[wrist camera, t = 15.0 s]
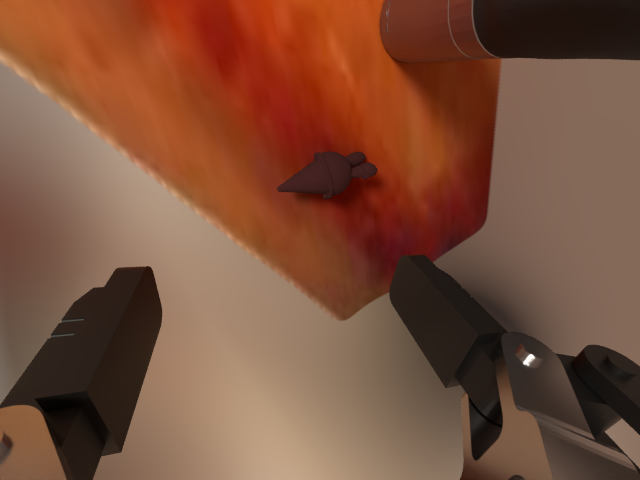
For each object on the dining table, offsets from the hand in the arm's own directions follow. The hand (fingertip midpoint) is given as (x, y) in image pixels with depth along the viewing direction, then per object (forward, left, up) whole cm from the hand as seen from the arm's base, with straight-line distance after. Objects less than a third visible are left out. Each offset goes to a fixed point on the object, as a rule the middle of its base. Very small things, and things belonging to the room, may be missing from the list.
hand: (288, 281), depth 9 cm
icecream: (-10, +6, -34) cm, 36 cm away
